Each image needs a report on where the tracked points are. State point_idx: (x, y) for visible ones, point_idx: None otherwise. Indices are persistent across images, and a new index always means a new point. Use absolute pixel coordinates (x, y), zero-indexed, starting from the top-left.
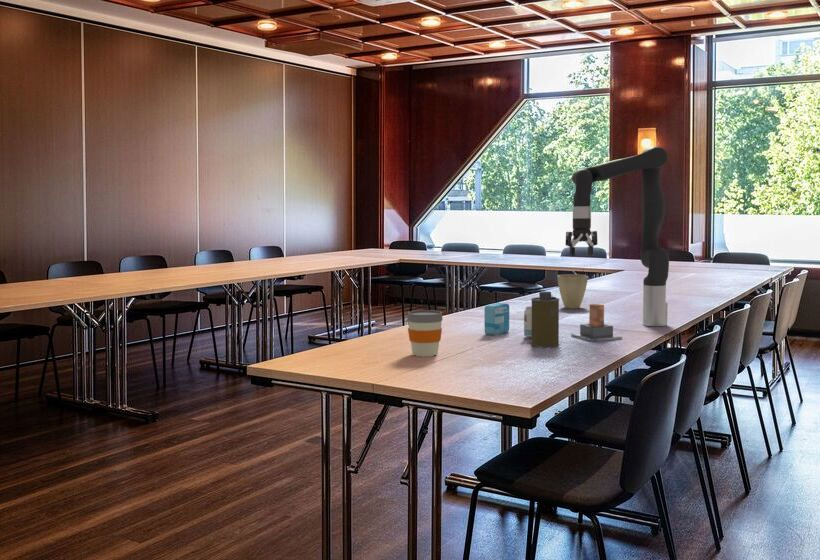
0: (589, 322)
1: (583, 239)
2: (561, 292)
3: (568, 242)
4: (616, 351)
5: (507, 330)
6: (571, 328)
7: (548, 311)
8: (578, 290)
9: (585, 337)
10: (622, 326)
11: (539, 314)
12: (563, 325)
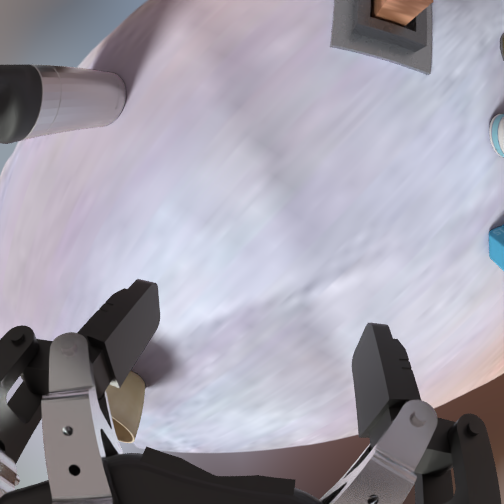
0: (410, 20)
1: (198, 498)
2: (141, 410)
3: (487, 453)
4: None
5: (494, 230)
6: (336, 169)
7: None
8: (113, 390)
9: (430, 17)
10: (180, 115)
11: None
12: (315, 226)
